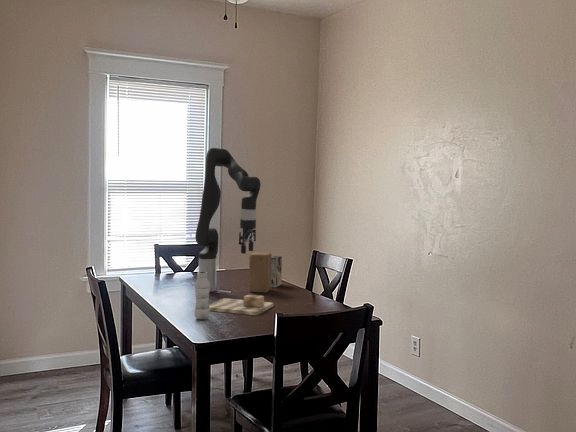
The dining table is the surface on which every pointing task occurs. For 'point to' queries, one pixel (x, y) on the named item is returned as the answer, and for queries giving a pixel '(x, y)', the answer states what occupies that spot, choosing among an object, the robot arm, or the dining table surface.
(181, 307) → the dining table surface
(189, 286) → the dining table surface
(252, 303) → the block
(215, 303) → the board
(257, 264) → the wooden block
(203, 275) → the plastic bottle
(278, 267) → the coffee box
